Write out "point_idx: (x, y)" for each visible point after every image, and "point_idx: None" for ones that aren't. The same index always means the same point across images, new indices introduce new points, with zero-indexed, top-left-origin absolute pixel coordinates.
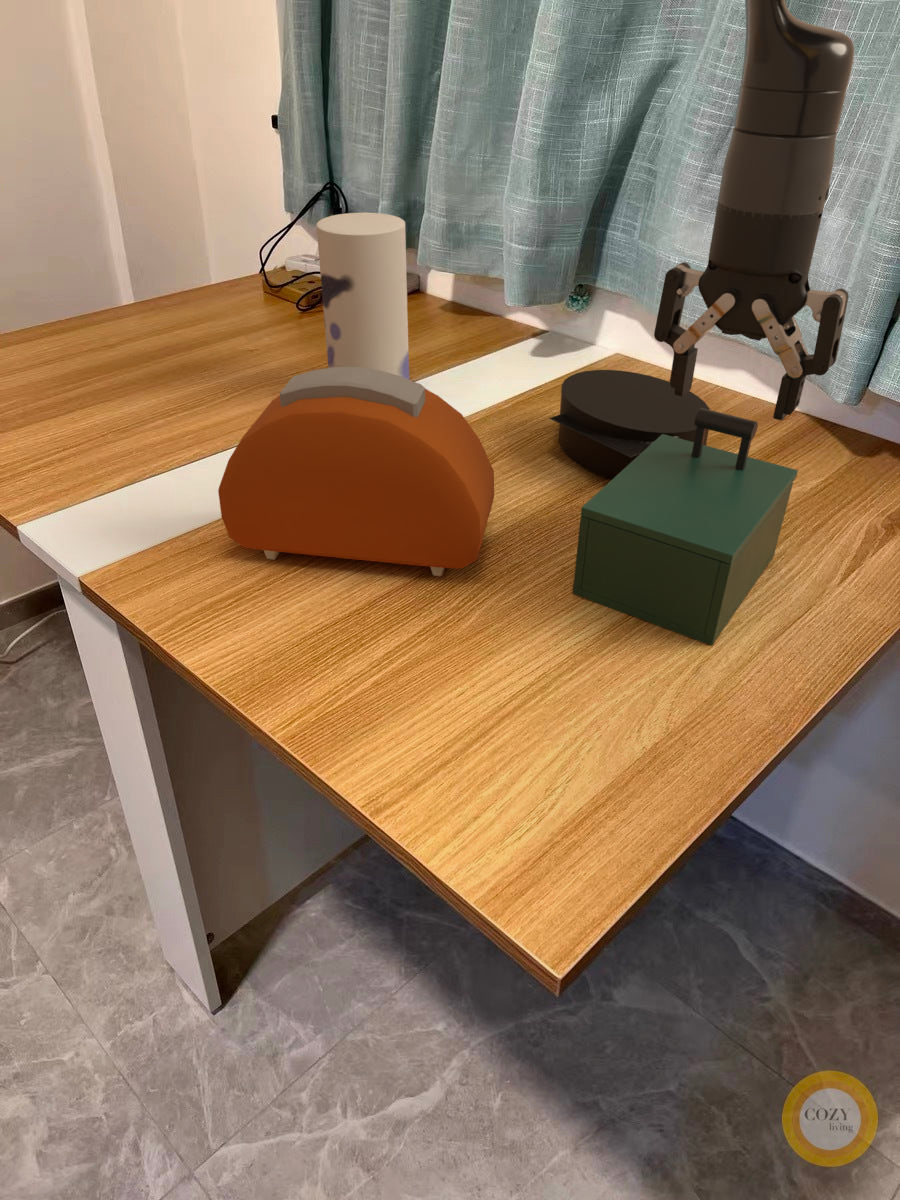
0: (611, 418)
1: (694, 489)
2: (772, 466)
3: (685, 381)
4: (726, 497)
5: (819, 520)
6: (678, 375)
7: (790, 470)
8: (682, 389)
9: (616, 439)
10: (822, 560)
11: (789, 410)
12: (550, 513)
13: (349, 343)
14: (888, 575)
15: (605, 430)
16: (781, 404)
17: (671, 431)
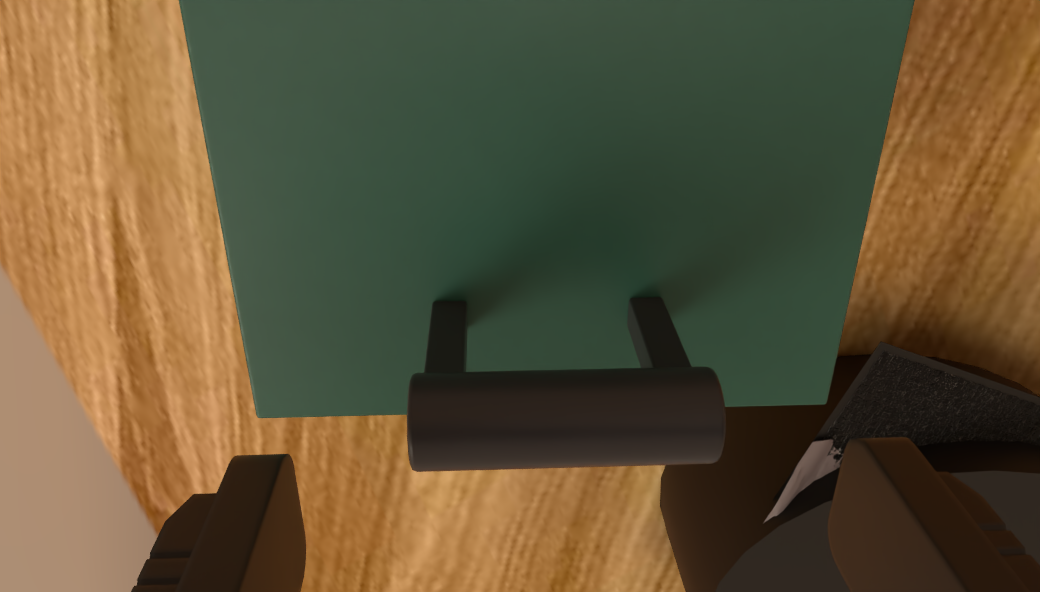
0: (1019, 502)
1: (544, 9)
2: (349, 393)
3: (890, 512)
4: (387, 21)
5: (304, 463)
6: (963, 518)
7: (278, 400)
8: (877, 459)
9: (958, 429)
10: (207, 291)
11: (195, 515)
12: (1021, 71)
13: None
14: (37, 318)
15: (1012, 451)
16: (229, 517)
17: (798, 525)
